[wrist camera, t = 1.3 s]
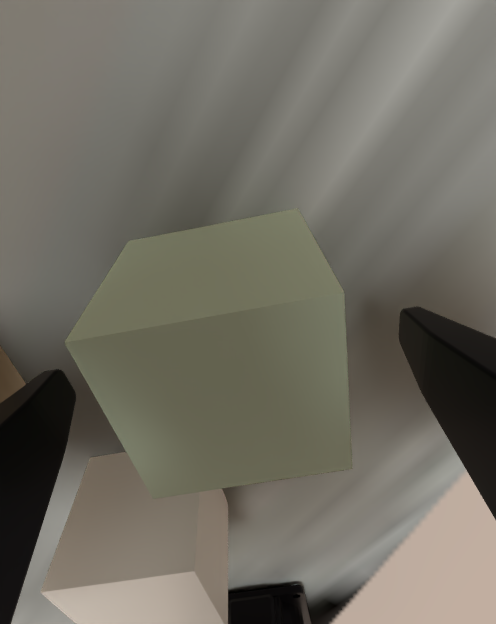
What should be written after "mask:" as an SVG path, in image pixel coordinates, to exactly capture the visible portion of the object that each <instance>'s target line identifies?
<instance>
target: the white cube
mask: <svg viewBox="0 0 496 624" xmlns="http://www.w3.org/2000/svg"><path fill="white" fill-rule="evenodd" d="M40 593H42V594H43V595H44V596H45V597H46V598H47V599H48V600H50V601H51V602H52V603H53V604H54V605H55V606H56V607H58V608H59V609H60V610H61V611H62V612H63V613H64V614H66V615H67V616H68V617H69V618H70V619H71V620H72V621H74V622H75V623H76V624H228V503H227V500H226V498H225V495H224V492H223V490H222V489H216V490H209V491H203V492H196V493H189V494H183V495H176V496H170V497H163V498H156V499H153V498H152V496H151V494H150V493H149V491H148V489H147V487H146V486H145V484H144V482H143V480H142V479H141V477H140V475H139V473H138V472H137V470H136V468H135V466H134V465H133V463H132V461H131V459H130V457H129V456H128V454H127V452H122V453H116V454H109V455H103V456H97V457H90V459H89V462H88V465H87V468H86V470H85V473H84V476H83V478H82V481H81V484H80V487H79V489H78V492H77V495H76V497H75V500H74V503H73V506H72V508H71V511H70V514H69V516H68V519H67V522H66V524H65V527H64V530H63V533H62V535H61V538H60V541H59V543H58V546H57V549H56V552H55V554H54V557H53V560H52V562H51V565H50V568H49V571H48V573H47V576H46V579H45V581H44V584H43V587H42V589H41V592H40Z"/></svg>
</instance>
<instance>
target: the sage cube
mask: <svg viewBox="0 0 496 624" xmlns="http://www.w3.org/2000/svg"><path fill="white" fill-rule="evenodd" d="M64 343H65V345H66V347H67V349H68V350H69V352H70V354H71V356H72V357H73V359H74V361H75V363H76V364H77V366H78V368H79V370H80V371H81V373H82V375H83V377H84V378H85V380H86V382H87V384H88V385H89V387H90V389H91V391H92V392H93V394H94V396H95V398H96V400H97V401H98V403H99V405H100V407H101V408H102V410H103V412H104V414H105V415H106V417H107V419H108V421H109V422H110V424H111V426H112V428H113V429H114V431H115V433H116V435H117V436H118V438H119V440H120V442H121V443H122V445H123V447H124V449H125V450H126V452H127V454H128V456H129V457H130V459H131V461H132V463H133V465H134V466H135V468H136V470H137V472H138V473H139V475H140V477H141V479H142V480H143V482H144V484H145V486H146V487H147V489H148V491H149V493H150V494H151V496H152V498H153V499H156V498H163V497H170V496H176V495H183V494H189V493H196V492H203V491H209V490H216V489H223V488H229V487H236V486H242V485H249V484H256V483H262V482H269V481H276V480H282V479H289V478H296V477H302V476H309V475H315V474H322V473H329V472H335V471H342V470H349V469H352V449H351V428H350V406H349V384H348V363H347V341H346V319H345V298H344V291H343V289H342V287H341V286H340V284H339V282H338V280H337V278H336V277H335V275H334V273H333V271H332V269H331V267H330V266H329V264H328V262H327V260H326V258H325V257H324V255H323V253H322V251H321V249H320V248H319V246H318V244H317V242H316V240H315V239H314V237H313V235H312V233H311V231H310V229H309V228H308V226H307V224H306V222H305V220H304V219H303V217H302V215H301V213H300V211H299V210H298V208H297V209H292V210H287V211H281V212H276V213H271V214H266V215H261V216H256V217H250V218H245V219H240V220H235V221H230V222H225V223H220V224H214V225H209V226H204V227H199V228H194V229H189V230H183V231H178V232H173V233H168V234H163V235H158V236H152V237H147V238H142V239H137V240H132V241H128V242H127V244H126V246H125V247H124V249H123V250H122V252H121V253H120V255H119V257H118V258H117V260H116V261H115V263H114V265H113V266H112V268H111V269H110V271H109V272H108V274H107V276H106V277H105V279H104V280H103V282H102V283H101V285H100V287H99V288H98V290H97V291H96V293H95V295H94V296H93V298H92V299H91V301H90V302H89V304H88V306H87V307H86V309H85V310H84V312H83V313H82V315H81V317H80V318H79V320H78V321H77V323H76V324H75V326H74V328H73V329H72V331H71V332H70V334H69V336H68V337H67V339H66V340H65V342H64Z"/></svg>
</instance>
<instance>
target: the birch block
mask: <svg viewBox="0 0 496 624" xmlns="http://www.w3.org/2000/svg"><path fill="white" fill-rule="evenodd" d="M25 385H26V383H25V382H24V380H23V379H22V377H21V376H20V374H19V373H18V371H17V370H16V368H15V367H14V365H13V364H12V362H11V361H10V359H9V358H8V356H7V355H6V353H5V352H4V351H3V349H2V348H1V346H0V403H1V402H3V401H4V400H5V399H7V398H8V397H10V396H11V395H12V394H14V393H15V392H16V391H18V390H19V389H21V388H22V387H23V386H25Z"/></svg>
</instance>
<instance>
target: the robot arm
mask: <svg viewBox="0 0 496 624" xmlns="http://www.w3.org/2000/svg"><path fill="white" fill-rule="evenodd" d="M399 340H400V344H401V346H402V349H403V351H404V353H405V356H406V358H407V360H408V363H409V365H410V367H411V370H412V372H413V374H414V377H415V379H416V381H417V383H418V386H419V388H420V390H421V392H422V394H423V396H424V398H425V400H426V402H427V403H428V405H429V407H430V408H431V410H432V412H433V414H434V415H435V417H436V419H437V420H438V422H439V424H440V426H441V427H442V429H443V431H444V432H445V434H446V436H447V437H448V439H449V441H450V443H451V444H452V446H453V448H454V449H455V451H456V453H457V455H458V456H459V458H460V460H461V461H462V463H463V465H464V467H465V468H466V470H467V472H468V473H469V475H470V477H471V478H472V480H473V482H474V484H475V485H476V487H477V489H478V490H479V492H480V494H481V495H482V497H483V499H484V501H485V502H486V504H487V506H488V507H489V509H490V511H491V513H492V514H493V516H494V518H495V519H496V338H493V337H491V336H488V335H486V334H484V333H481V332H479V331H476V330H474V329H472V328H469V327H467V326H464V325H462V324H459V323H457V322H455V321H452V320H450V319H447V318H445V317H442V316H440V315H438V314H435V313H433V312H430V311H428V310H426V309H423V308H421V307H411V308H406V309H403V310H402V311H401V313H400V323H399ZM75 401H76V394H75V391H74V389H73V387H72V385H71V384H70V382H69V380H68V379H67V377H66V375H65V374H64V372H63V371H62V370H59V369H55V370H50V371H45V372H43V373H41V374H40V375H38V376H37V377H36V378H34V379H33V380H32V381H30V382H29V383H27V384H26V385H25V386H23V387H22V388H21V389H19V390H18V391H16V392H15V393H14V394H12V395H11V396H10V397H8V398H7V399H5V400H4V401H3V402H1V403H0V624H11V622H12V618H13V615H14V612H15V609H16V606H17V603H18V599H19V596H20V593H21V590H22V587H23V584H24V580H25V577H26V574H27V571H28V568H29V565H30V561H31V558H32V555H33V552H34V549H35V546H36V542H37V539H38V536H39V533H40V530H41V527H42V523H43V520H44V517H45V514H46V511H47V508H48V504H49V501H50V498H51V495H52V492H53V489H54V485H55V482H56V479H57V476H58V473H59V470H60V466H61V463H62V460H63V457H64V453H65V449H66V445H67V441H68V436H69V431H70V426H71V421H72V416H73V411H74V406H75ZM228 624H312V623H311V618H310V614H309V609H308V605H307V601H306V596H305V592H304V588H303V586H301V585H292V586H285V587H277V588H270V589H262V590H255V591H247V592H240V593H232V594H228Z"/></svg>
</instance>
